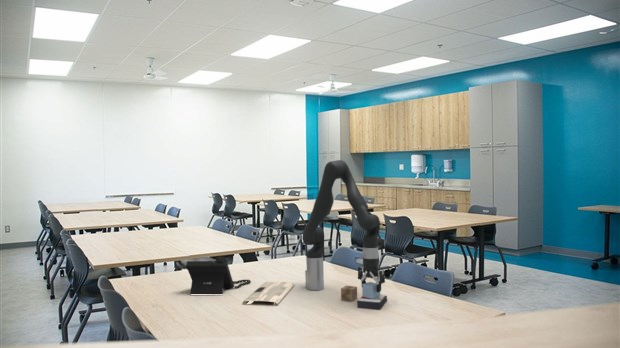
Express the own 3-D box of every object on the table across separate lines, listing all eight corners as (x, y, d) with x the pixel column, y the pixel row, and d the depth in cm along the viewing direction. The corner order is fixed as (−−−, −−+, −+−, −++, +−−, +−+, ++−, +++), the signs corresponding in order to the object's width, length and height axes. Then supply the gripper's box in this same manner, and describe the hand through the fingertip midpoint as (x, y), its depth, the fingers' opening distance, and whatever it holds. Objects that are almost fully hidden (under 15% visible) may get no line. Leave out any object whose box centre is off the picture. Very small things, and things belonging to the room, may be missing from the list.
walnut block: (341, 300, 223) (340, 288, 223) (346, 297, 228) (346, 285, 228) (352, 302, 220) (352, 289, 220) (357, 298, 225) (356, 286, 225)
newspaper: (264, 285, 256) (264, 280, 256) (297, 286, 252) (297, 281, 252) (242, 305, 220) (242, 300, 220) (280, 307, 216) (280, 301, 216)
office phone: (252, 281, 264) (251, 247, 264) (240, 295, 236) (239, 257, 235) (203, 282, 267) (202, 248, 266) (186, 295, 238) (185, 257, 238)
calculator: (387, 294, 221) (380, 301, 207) (387, 302, 220) (380, 310, 206) (365, 292, 225) (356, 299, 211) (365, 301, 224) (356, 308, 211)
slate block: (362, 296, 216) (362, 284, 216) (370, 293, 220) (369, 281, 220) (372, 299, 211) (372, 286, 211) (380, 296, 216) (379, 283, 216)
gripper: (354, 256, 217) (354, 289, 218) (378, 259, 208) (379, 294, 208) (363, 253, 223) (364, 286, 223) (387, 257, 213) (388, 291, 213)
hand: (371, 290), depth 215 cm, fingers open, 8 cm apart
